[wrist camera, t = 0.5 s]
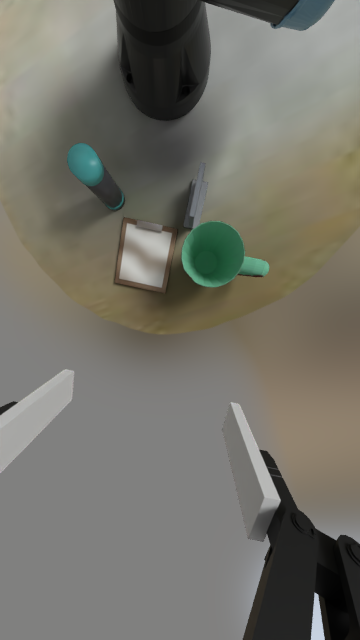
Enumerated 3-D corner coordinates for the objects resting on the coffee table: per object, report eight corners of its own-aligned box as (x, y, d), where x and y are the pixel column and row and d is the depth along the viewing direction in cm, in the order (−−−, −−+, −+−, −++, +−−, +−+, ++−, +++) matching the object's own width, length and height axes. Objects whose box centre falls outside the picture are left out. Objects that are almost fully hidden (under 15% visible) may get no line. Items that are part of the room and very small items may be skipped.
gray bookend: (192, 180, 34) (194, 159, 28) (207, 184, 34) (212, 163, 28) (183, 226, 36) (182, 215, 30) (197, 230, 36) (200, 219, 30)
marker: (105, 185, 35) (68, 139, 24) (126, 190, 35) (99, 146, 24) (103, 208, 36) (66, 174, 25) (123, 213, 36) (95, 181, 25)
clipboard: (124, 218, 36) (122, 215, 35) (177, 230, 36) (177, 228, 35) (115, 282, 39) (113, 282, 37) (165, 293, 39) (164, 293, 37)
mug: (178, 281, 38) (175, 280, 28) (187, 233, 36) (188, 214, 26) (244, 295, 38) (265, 299, 28) (258, 248, 36) (284, 234, 26)
